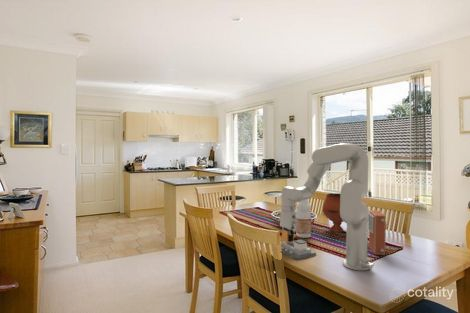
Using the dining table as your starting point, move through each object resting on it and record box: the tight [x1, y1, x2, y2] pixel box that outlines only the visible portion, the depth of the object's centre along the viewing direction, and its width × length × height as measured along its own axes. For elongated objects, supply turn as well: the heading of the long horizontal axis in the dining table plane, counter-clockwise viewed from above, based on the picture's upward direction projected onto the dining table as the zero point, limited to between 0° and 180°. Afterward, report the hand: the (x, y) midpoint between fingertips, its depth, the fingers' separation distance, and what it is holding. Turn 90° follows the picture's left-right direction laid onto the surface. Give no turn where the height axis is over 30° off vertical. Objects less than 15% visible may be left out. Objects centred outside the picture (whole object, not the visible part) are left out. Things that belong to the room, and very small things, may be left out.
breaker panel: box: [280, 241, 317, 260], centre depth 168 cm, size 22×13×4 cm, turn 28°
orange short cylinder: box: [281, 228, 295, 243], centre depth 171 cm, size 5×5×7 cm
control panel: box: [368, 209, 387, 256], centre depth 167 cm, size 21×7×15 cm
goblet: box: [322, 192, 345, 233], centre depth 208 cm, size 19×19×25 cm
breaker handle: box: [294, 238, 308, 251], centre depth 162 cm, size 5×5×5 cm
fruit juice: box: [295, 199, 312, 239], centre depth 195 cm, size 9×9×28 cm
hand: (287, 239), depth 172 cm, fingers closed on orange short cylinder, 4 cm apart
